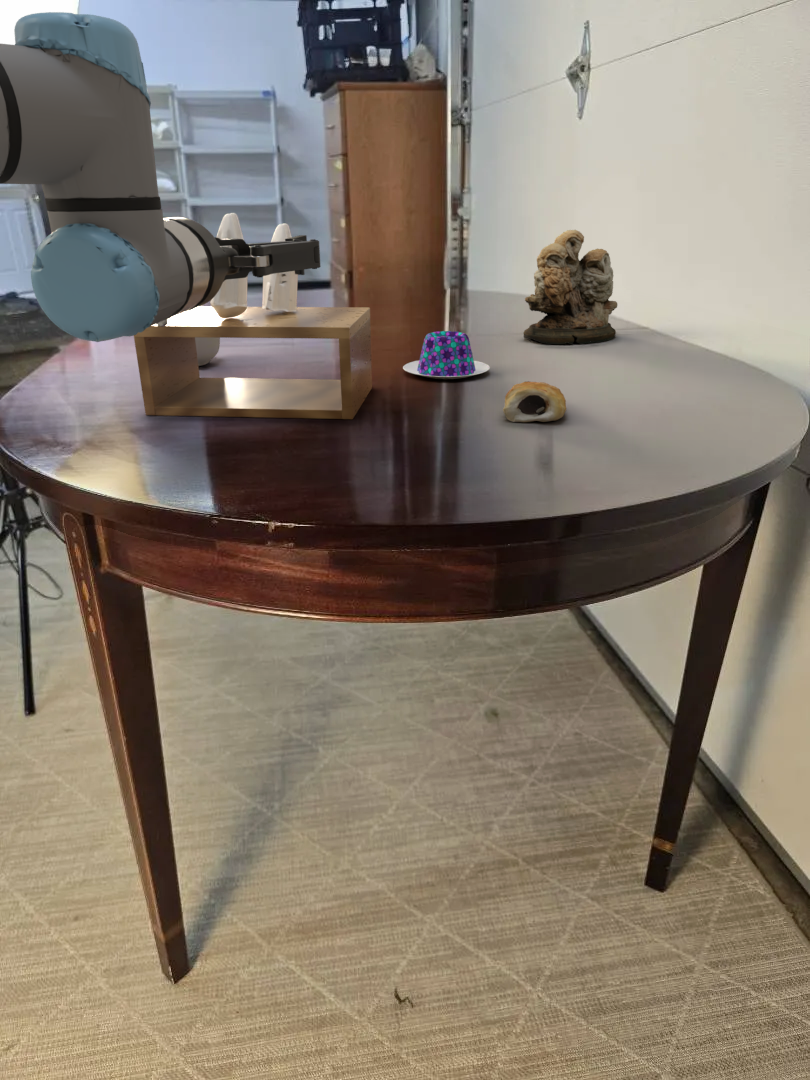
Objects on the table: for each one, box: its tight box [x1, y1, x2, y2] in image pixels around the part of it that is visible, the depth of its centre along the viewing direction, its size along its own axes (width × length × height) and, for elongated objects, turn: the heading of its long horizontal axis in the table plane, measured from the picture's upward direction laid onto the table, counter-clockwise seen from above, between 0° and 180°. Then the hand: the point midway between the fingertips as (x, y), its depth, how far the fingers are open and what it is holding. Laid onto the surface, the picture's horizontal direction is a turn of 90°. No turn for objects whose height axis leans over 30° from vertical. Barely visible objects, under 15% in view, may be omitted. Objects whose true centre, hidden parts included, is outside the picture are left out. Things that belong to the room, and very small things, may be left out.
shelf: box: [133, 306, 373, 420], centre depth 92 cm, size 24×15×10 cm, turn 84°
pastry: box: [502, 380, 567, 423], centre depth 87 cm, size 9×7×4 cm
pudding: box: [402, 330, 491, 380], centre depth 106 cm, size 12×12×5 cm
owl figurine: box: [523, 229, 618, 345], centre depth 127 cm, size 18×12×17 cm, turn 120°
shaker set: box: [209, 212, 299, 318], centre depth 87 cm, size 12×4×11 cm, turn 131°
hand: (242, 248), depth 83 cm, fingers open, 13 cm apart
